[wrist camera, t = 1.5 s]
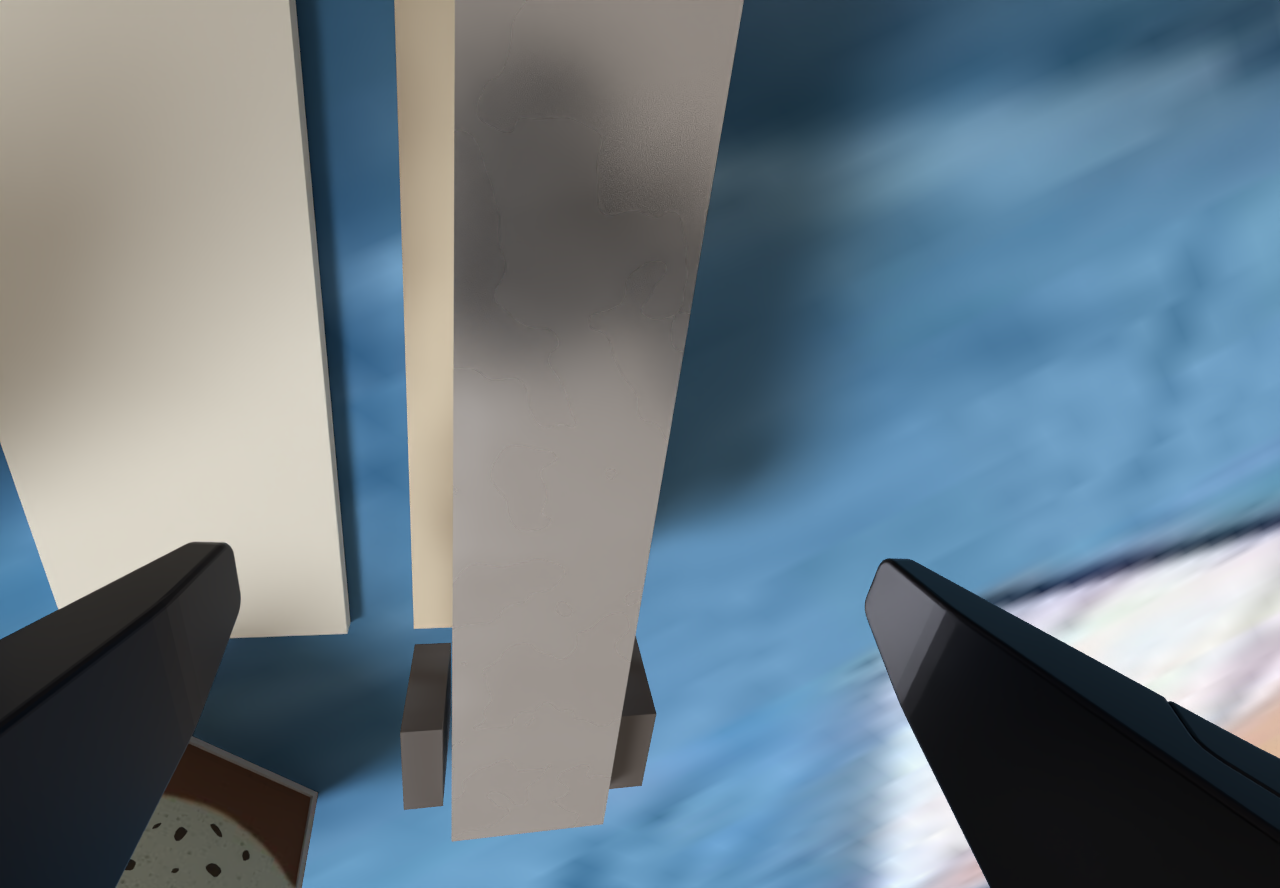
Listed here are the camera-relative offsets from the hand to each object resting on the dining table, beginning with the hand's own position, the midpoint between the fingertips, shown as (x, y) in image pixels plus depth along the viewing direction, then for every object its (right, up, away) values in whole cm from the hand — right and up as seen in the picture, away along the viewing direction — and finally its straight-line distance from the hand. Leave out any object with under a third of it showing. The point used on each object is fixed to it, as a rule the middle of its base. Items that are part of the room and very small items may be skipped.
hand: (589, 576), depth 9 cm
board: (-13, +7, +9) cm, 17 cm away
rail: (-1, +3, +6) cm, 8 cm away
